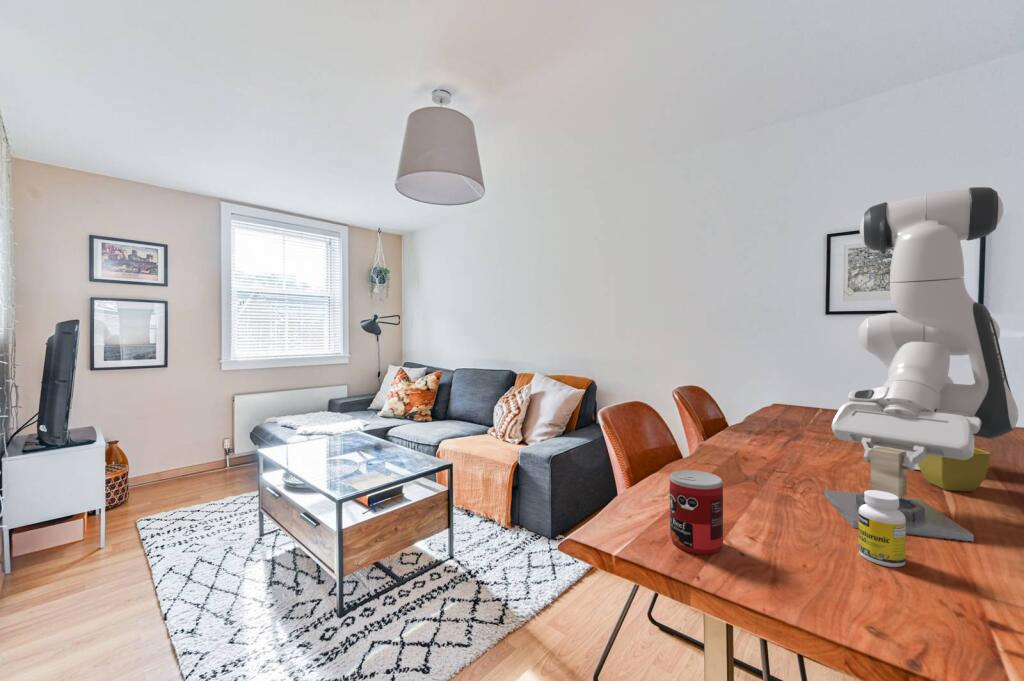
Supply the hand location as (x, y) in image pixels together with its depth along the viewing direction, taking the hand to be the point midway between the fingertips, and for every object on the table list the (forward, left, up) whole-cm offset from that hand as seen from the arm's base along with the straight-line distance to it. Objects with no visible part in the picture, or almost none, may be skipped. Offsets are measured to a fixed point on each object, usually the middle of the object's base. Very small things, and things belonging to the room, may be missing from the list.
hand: (887, 464), depth 79 cm
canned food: (+22, -33, -10) cm, 41 cm away
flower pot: (-23, +20, -10) cm, 32 cm away
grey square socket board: (-1, +1, -10) cm, 10 cm away
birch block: (0, 0, -5) cm, 5 cm away
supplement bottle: (+18, -7, -10) cm, 22 cm away
